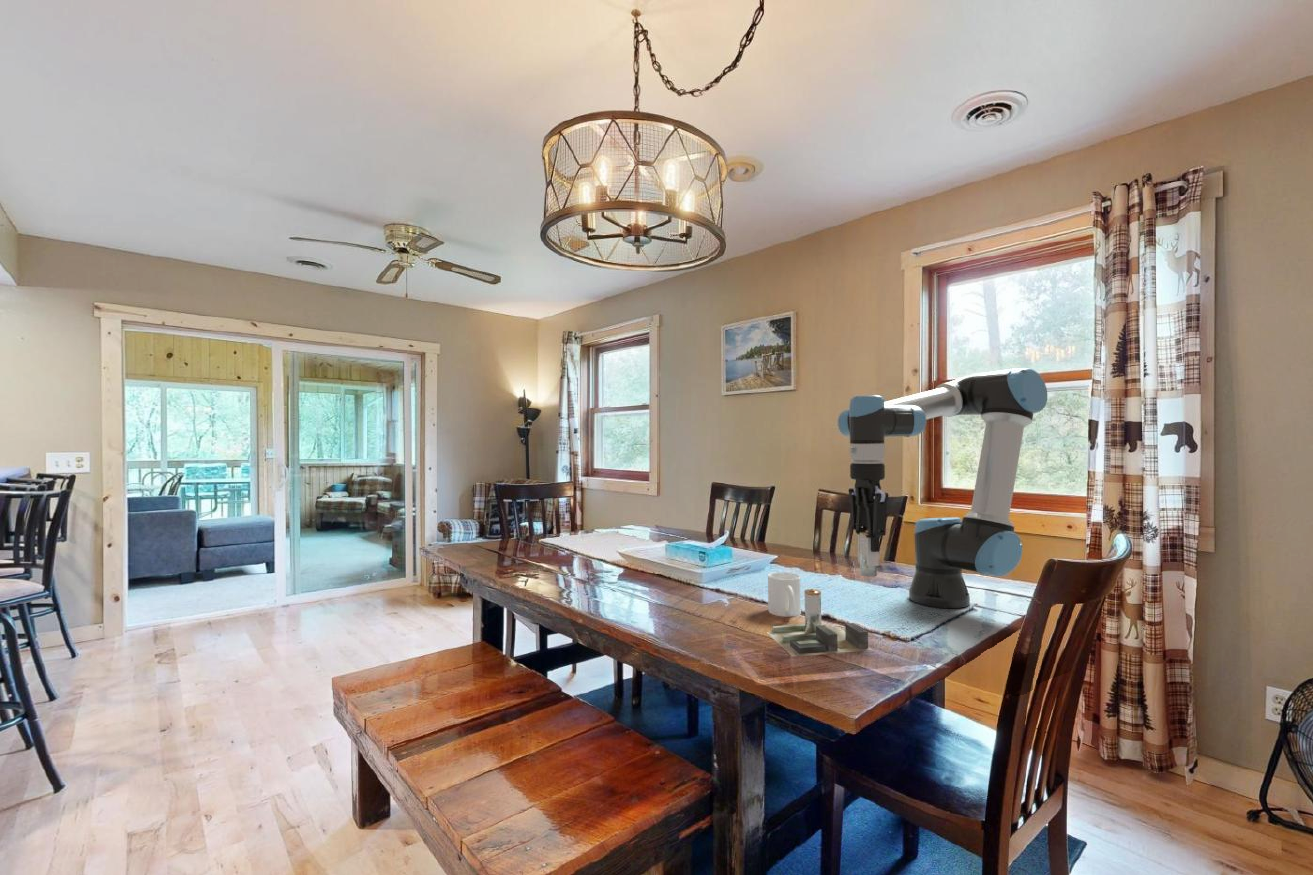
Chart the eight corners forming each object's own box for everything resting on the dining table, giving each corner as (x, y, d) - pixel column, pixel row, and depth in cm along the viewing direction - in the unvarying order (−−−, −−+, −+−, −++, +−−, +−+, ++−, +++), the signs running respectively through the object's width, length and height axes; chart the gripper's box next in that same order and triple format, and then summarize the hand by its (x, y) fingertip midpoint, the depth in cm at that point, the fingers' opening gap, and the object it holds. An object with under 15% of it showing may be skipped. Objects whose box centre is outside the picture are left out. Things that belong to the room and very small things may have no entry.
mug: (809, 625, 139) (808, 583, 139) (775, 625, 138) (774, 583, 139) (796, 610, 151) (795, 571, 151) (765, 610, 150) (765, 572, 151)
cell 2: (871, 572, 133) (871, 529, 133) (879, 576, 129) (879, 531, 129) (857, 573, 132) (856, 529, 132) (864, 577, 129) (864, 532, 129)
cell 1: (817, 631, 131) (816, 587, 131) (824, 636, 128) (823, 591, 128) (802, 632, 131) (801, 588, 131) (809, 637, 127) (808, 592, 127)
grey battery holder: (838, 630, 134) (837, 611, 134) (873, 654, 119) (872, 633, 119) (766, 636, 131) (765, 617, 131) (792, 661, 116) (792, 639, 116)
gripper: (835, 461, 138) (836, 557, 138) (871, 464, 122) (872, 572, 122) (863, 460, 140) (864, 556, 139) (902, 463, 124) (904, 570, 123)
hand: (868, 563), depth 131 cm, fingers closed on cell 2, 3 cm apart
